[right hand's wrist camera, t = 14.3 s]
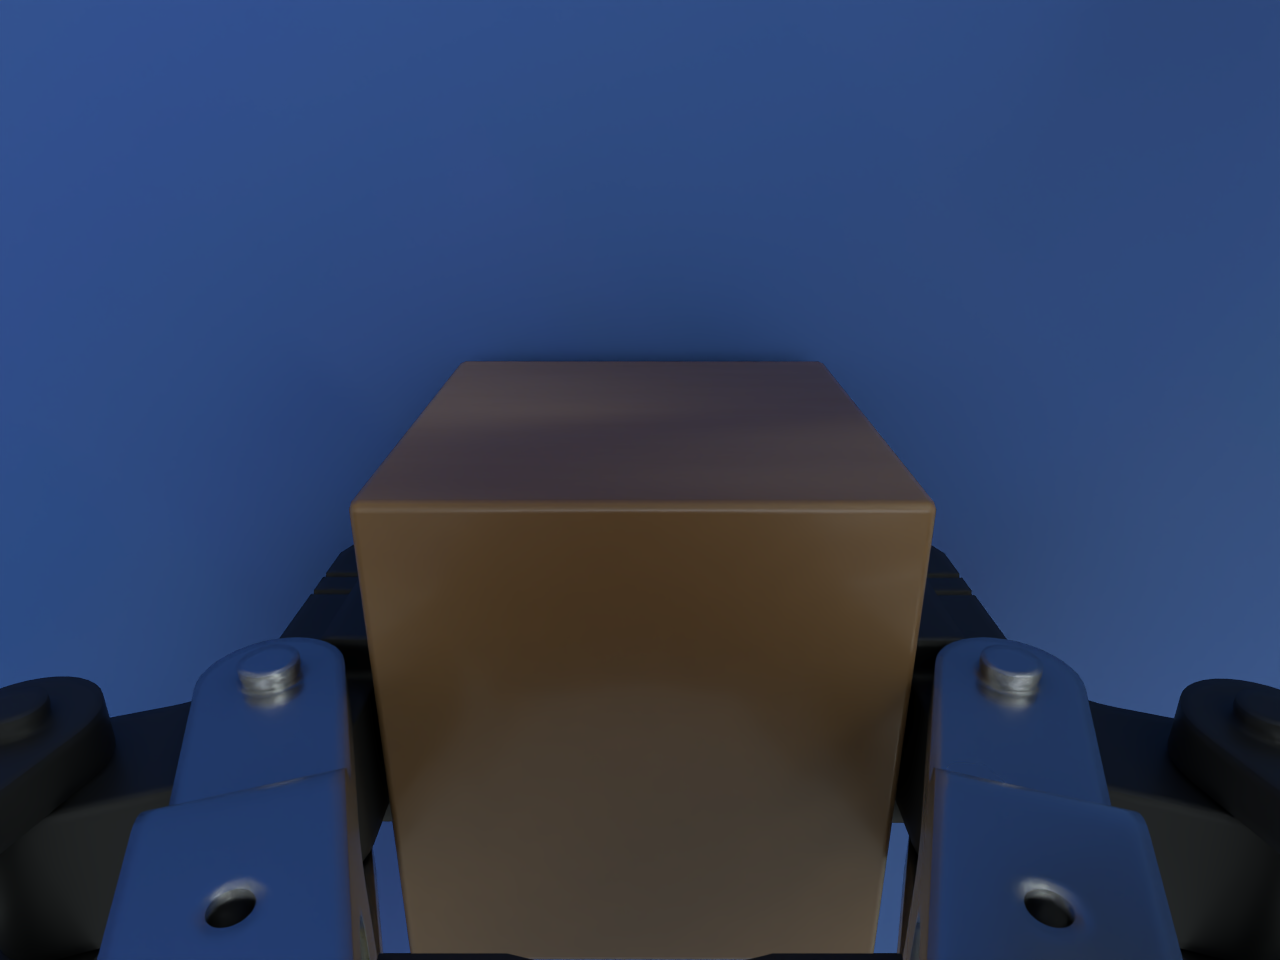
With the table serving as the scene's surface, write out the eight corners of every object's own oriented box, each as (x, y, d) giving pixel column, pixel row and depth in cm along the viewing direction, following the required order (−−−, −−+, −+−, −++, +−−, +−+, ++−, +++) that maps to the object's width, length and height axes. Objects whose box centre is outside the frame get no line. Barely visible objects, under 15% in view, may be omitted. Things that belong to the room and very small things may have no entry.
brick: (823, 360, 11) (941, 503, 7) (797, 686, 13) (875, 963, 9) (460, 360, 11) (343, 503, 7) (485, 686, 13) (408, 963, 9)
